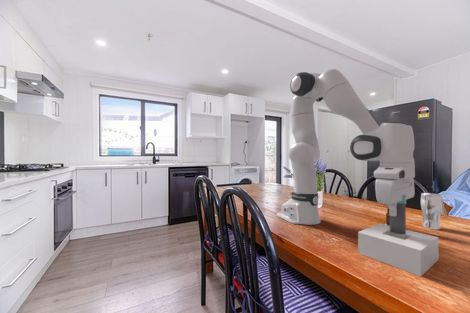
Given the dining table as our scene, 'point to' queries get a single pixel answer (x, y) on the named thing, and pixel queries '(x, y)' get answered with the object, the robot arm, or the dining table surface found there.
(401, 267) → the socket block
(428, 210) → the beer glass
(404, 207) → the dark gray rectangular block
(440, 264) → the dining table surface
